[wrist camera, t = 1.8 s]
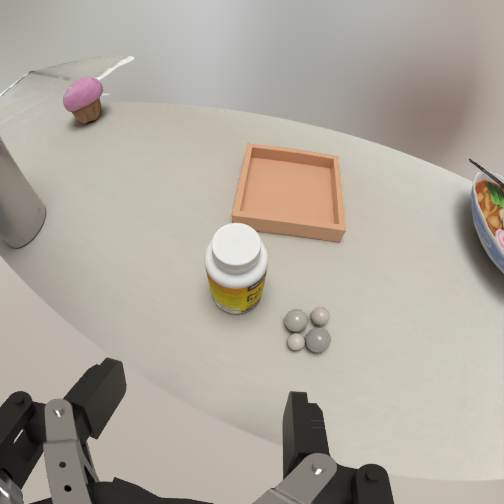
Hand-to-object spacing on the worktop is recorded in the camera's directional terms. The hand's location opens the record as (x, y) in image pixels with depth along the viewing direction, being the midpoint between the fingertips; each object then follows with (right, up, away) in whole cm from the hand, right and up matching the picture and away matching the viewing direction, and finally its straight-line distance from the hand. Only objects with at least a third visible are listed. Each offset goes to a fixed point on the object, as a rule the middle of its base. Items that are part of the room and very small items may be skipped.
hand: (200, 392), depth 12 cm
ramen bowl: (+46, +8, +25) cm, 53 cm away
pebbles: (+8, -2, +18) cm, 20 cm away
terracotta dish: (+7, +14, +27) cm, 31 cm away
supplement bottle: (+1, +2, +20) cm, 20 cm away
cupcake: (-32, +35, +37) cm, 60 cm away
